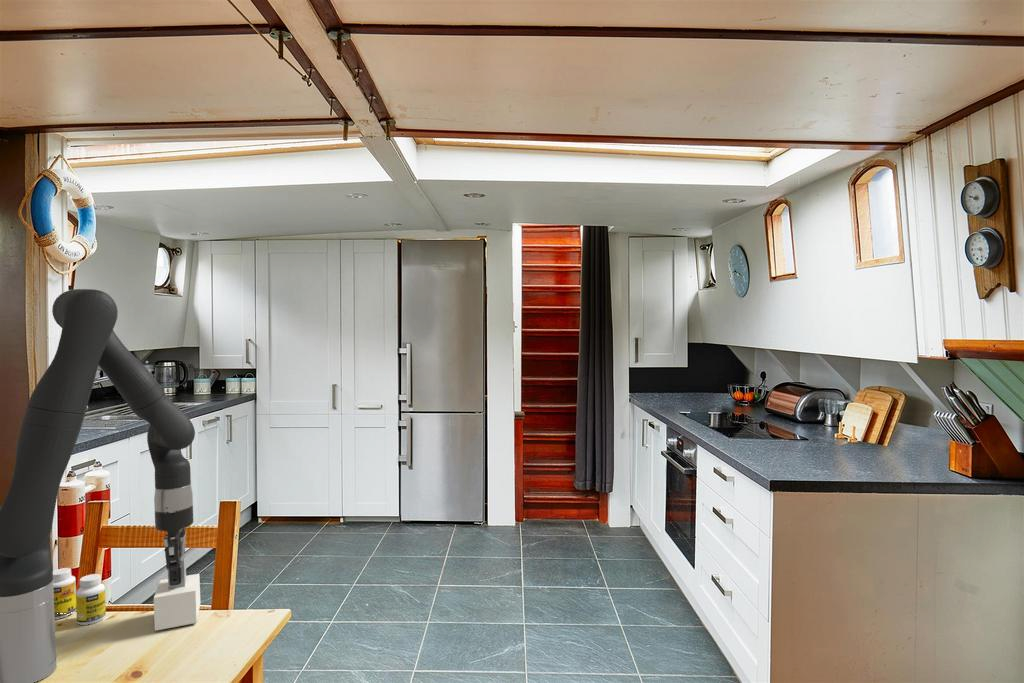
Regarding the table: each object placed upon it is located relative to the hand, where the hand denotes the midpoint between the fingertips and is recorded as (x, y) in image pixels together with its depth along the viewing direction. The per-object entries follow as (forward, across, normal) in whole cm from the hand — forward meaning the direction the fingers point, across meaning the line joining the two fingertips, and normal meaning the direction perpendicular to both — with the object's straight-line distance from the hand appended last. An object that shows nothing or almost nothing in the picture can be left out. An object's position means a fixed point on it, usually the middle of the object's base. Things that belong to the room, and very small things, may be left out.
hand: (176, 580), depth 135 cm
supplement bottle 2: (+9, -8, -18) cm, 22 cm away
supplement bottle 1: (+9, -14, -25) cm, 30 cm away
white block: (+8, 0, 0) cm, 8 cm away
